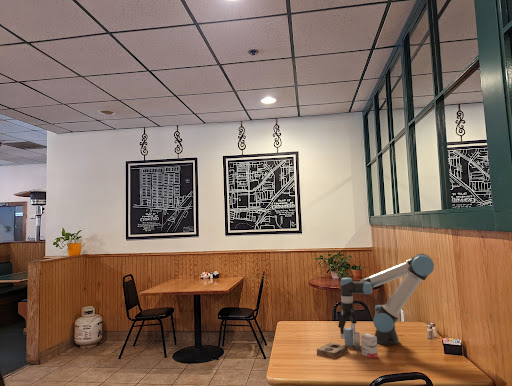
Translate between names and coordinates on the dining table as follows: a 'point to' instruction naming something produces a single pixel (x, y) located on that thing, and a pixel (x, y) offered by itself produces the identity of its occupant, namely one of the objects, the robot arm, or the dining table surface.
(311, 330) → the dining table surface
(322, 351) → the socket block
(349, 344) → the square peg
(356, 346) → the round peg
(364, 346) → the ink box
